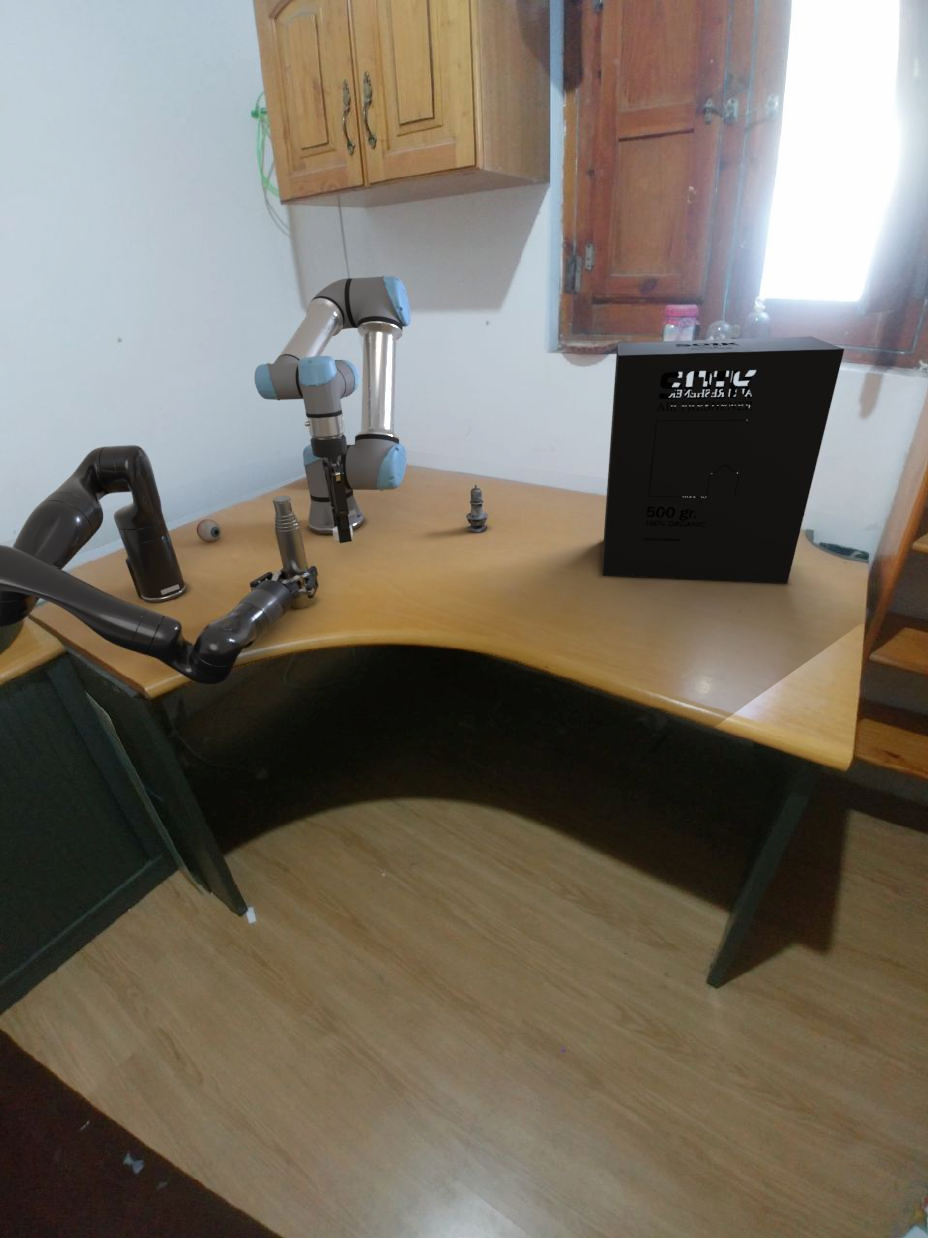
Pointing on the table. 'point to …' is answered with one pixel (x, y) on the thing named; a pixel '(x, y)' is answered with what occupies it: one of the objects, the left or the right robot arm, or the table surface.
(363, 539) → the table surface
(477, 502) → the grey upright piece
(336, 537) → the cap
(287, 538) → the bottle
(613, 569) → the black rectangular box
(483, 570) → the table surface
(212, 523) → the eyeball
